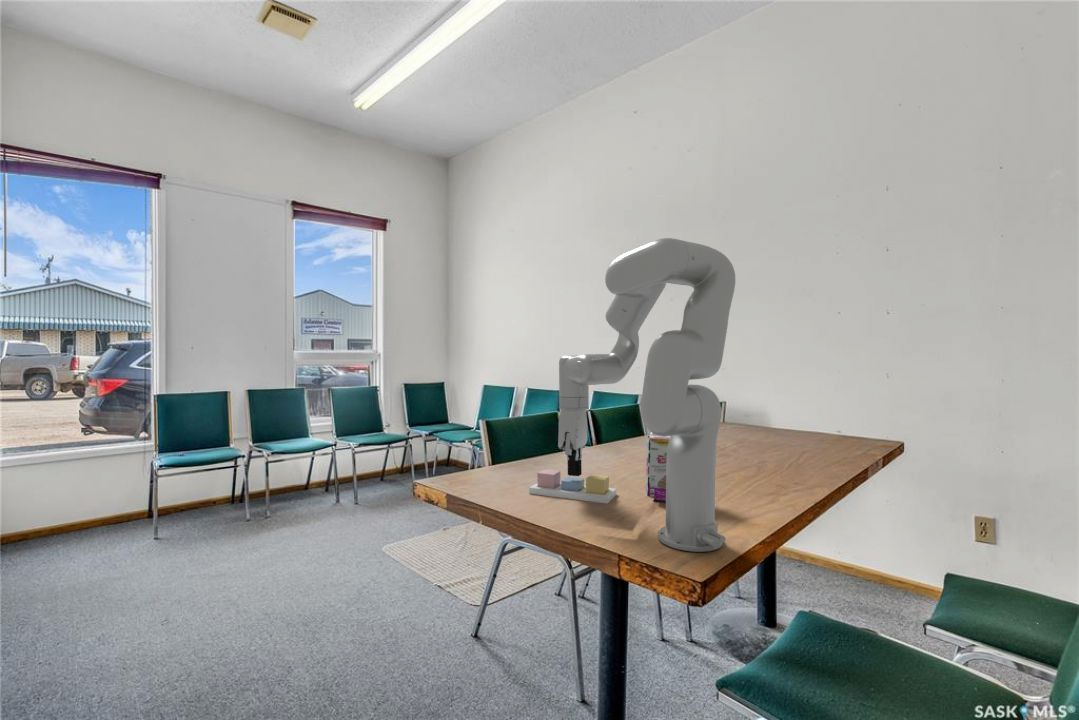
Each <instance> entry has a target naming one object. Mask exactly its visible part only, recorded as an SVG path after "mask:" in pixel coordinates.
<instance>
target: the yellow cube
mask: <svg viewBox="0 0 1079 720" xmlns="http://www.w3.org/2000/svg"><path fill="white" fill-rule="evenodd" d="M609 480H610V476H609V475H600V474H590V475H589V476H588V477H586V478H585V485H586V493H593V494H601V495H605V494H606V493H607V492H608V491H609V488H610V481H609Z"/></svg>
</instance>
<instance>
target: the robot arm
mask: <svg viewBox="0 0 1079 720" xmlns="http://www.w3.org/2000/svg"><path fill="white" fill-rule="evenodd" d="M735 271H736V270H735V269H734V266H733V264H732V262H731V260H730V259H729V258H728V257H727V256H726V255H725V254H724V253H723V252H721V251H719V250H718V249H716V248H713V247H711V246H708V245H704V244H701V243H697V242H691V241H686V240H682V239H676V238H671V237H669V238H668V237H666V238H659V239H656V240H653V241H651V242H648V243H646V244H643V245H642V246H639V247H636V248H634V249H632V250H630V251H627V252H625V253H622V254H621V255H619V256H618V257H616V258H614V260H613V261H612V262H611V263H610V264H609V265H608V268H607V269H606V272H605V279H604V281H605V286H606V288H607V290H608V291H609V293H611V294H613V295H615V296H614V298H613V300H612V301H611V303H610V305H609V307H608V309H607V310H606V312H605V321H606V322H607V323H608V325H609V326H610V327H611V328H612V329H614V330H615V331H616V332H617V333H618V336H617V337H618V338H617V340H616V342H615V345H614V346H613V348H612V350H611V351H610V353H592V354H591V353H585V354H580V355H577V354H576V355H573V354H572V355H562V356H561V357H560V358H559V360H558V387H559V388H558V390H559V392H558V395H559V396H558V397H559V399H558V401H559V407H558V408H559V410H560V412H559V419H558V420H559V421H558V436H557V437H558V438H557V439H558V440H557V441H558V443H557V444H558V445H557V447H558V448H559V449H560V450H563V449H565V450H564V451H565V452H564V455H565V456H566V460H567V476H568V477H570V476H571V477H579V476H582V474H583V473H582V469H583V468H582V456H583V449H584V446H586V444H587V442H588V416H587V410H589V409H590V408H589V407H590V404H589V402H590V401H589V399H590V398H589V397H590V396H589V395H590V393H589V391H590V390H589V389H590V388H589V386H597V385H612V384H616V383H619V382H620V381H621V380H623V379H624V378H625V377H626V375H627V374H628V373H629V371H630V370H631V368H632V366H633V365H634V363H635V362H636V359H637V357H638V354H639V347H640V336H639V331H640V329H641V327H642V326H643V324H644V322H645V321H646V319H647V318H648V315H649V314H650V312H651V311H652V309H653V308H654V306H655V304H656V303H657V301H658V299H659V297H661V294H662V293H663V291H664V289H665V287H666V285H667V284H671V285H672V284H673V285H680V286H689V287H692V288H693V291H692V292H691V294H690V296H689V297H688V299H687V301H686V304H685V307H684V309H683V316H682V323H681V328H680V330H679V329H674V330H668V331H665V332H662V333H661V334H660V335H658V336H657V337H656V338H655V340H654V341H653V342H652V343H651V346H650V347H649V351H648V354H647V357H646V359H647V360H646V365H645V371H644V379H643V386H642V391H641V392H642V394H641V402H640V414H641V419H642V422H643V424H644V426H645V428H646V429H647V430H648V431H649V432H650V433H652V434H653V435H656V436H670V440H669V443H668V448H667V462H666V502H665V526H663V527H660V529H658V531H657V538H658V540H659V542H660V543H662V544H664V545H665V546H668V547H671V548H672V549H673V548H674V549H676V550H680V551H687V552H693V553H694V552H695V553H704V552H706V553H707V552H712V551H716V550H719V549H720V548H721V547H722V546H723V544H724V543H725V542H726V537H725V535H723V534H720V533H718V531H719V530H718V529H719V528H718V527H719V526H718V525H719V524H718V523H716V520H715V518H716V515H715V514H716V512H715V511H716V508H715V507H716V466H717V465H716V464H717V463H716V462H717V440H718V435H719V428H720V424H721V418H722V406H721V402H720V399H719V397H718V396H717V394H716V393H715V392H714V391H713V390H712V389H710V388H709V387H708V386H704V385H700V384H689V383H690V380H691V381H693V380H704V379H708V378H711V377H714V376H715V375H716V374H718V372H719V370H720V368H721V366H722V362H723V358H724V352H725V350H724V349H725V343H726V339H727V333H728V325H729V317H730V310H731V306H732V302H733V297H734V294H735V293H734V292H735V287H736V272H735Z"/></svg>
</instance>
